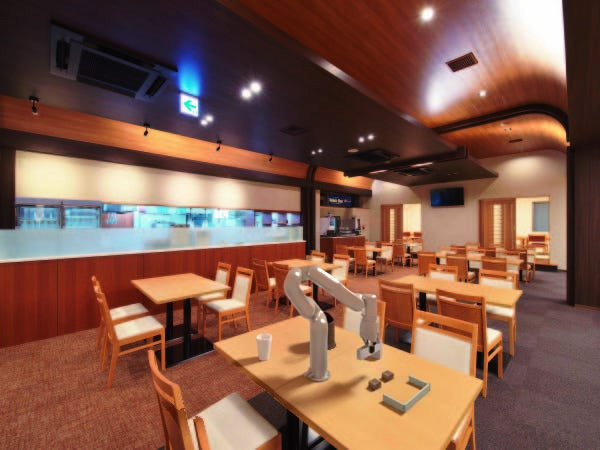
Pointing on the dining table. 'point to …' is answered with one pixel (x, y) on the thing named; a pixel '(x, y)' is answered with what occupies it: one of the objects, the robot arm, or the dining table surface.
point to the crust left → (374, 384)
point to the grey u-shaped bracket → (413, 400)
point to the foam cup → (264, 346)
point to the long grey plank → (367, 350)
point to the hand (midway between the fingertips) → (369, 351)
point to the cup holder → (330, 331)
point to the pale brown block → (377, 354)
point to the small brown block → (387, 375)
